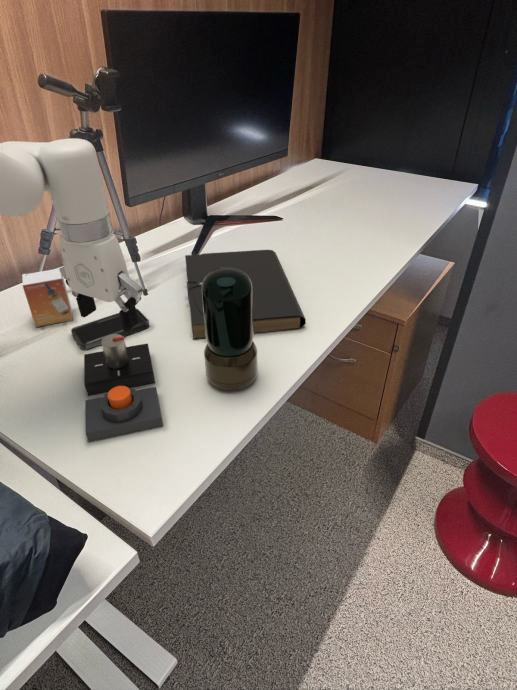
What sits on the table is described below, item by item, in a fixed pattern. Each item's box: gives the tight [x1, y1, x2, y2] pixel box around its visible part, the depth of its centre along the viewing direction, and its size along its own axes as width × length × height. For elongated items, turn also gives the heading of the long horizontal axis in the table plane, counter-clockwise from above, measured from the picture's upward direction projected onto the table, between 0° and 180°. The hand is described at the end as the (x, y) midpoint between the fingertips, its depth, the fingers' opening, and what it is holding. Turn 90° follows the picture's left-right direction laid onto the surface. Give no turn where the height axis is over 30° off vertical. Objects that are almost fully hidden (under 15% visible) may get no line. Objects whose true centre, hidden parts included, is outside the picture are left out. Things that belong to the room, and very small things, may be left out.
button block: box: [84, 386, 164, 443], centre depth 80 cm, size 12×8×4 cm, turn 106°
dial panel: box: [83, 343, 156, 397], centre depth 90 cm, size 12×9×3 cm
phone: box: [70, 308, 150, 351], centre depth 103 cm, size 8×1×15 cm
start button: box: [108, 386, 132, 409], centre depth 79 cm, size 4×4×2 cm
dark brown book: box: [184, 249, 307, 340], centre depth 113 cm, size 33×4×24 cm
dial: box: [101, 334, 129, 369], centre depth 88 cm, size 4×4×5 cm
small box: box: [21, 267, 74, 328], centre depth 104 cm, size 8×6×10 cm
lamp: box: [201, 267, 258, 391], centre depth 84 cm, size 10×10×22 cm
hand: (109, 320), depth 84 cm, fingers open, 9 cm apart
